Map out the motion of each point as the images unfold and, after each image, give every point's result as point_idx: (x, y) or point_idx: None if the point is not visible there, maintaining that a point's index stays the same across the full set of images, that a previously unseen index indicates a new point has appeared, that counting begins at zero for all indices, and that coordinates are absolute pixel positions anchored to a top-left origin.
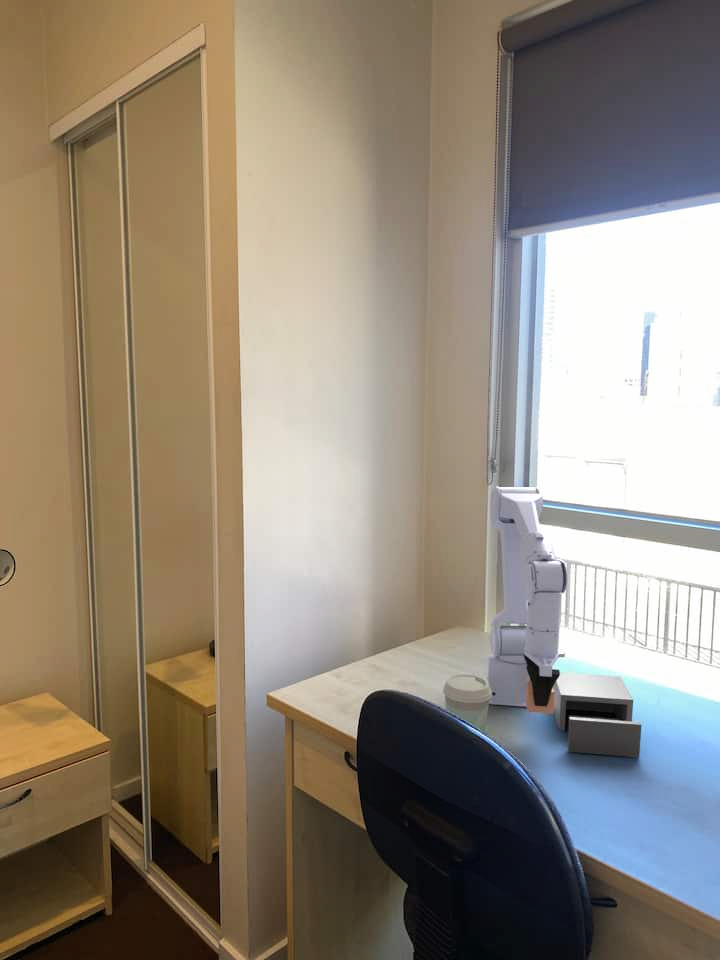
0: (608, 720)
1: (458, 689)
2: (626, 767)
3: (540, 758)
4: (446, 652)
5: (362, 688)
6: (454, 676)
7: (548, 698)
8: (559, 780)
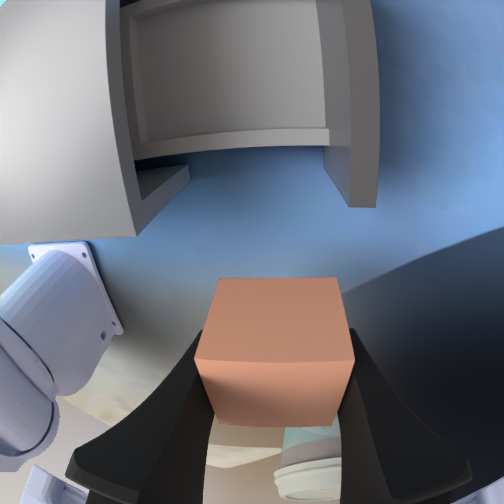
0: (353, 17)
1: None
2: (387, 18)
3: (375, 245)
4: None
5: None
6: (298, 500)
7: (369, 357)
8: (464, 214)
